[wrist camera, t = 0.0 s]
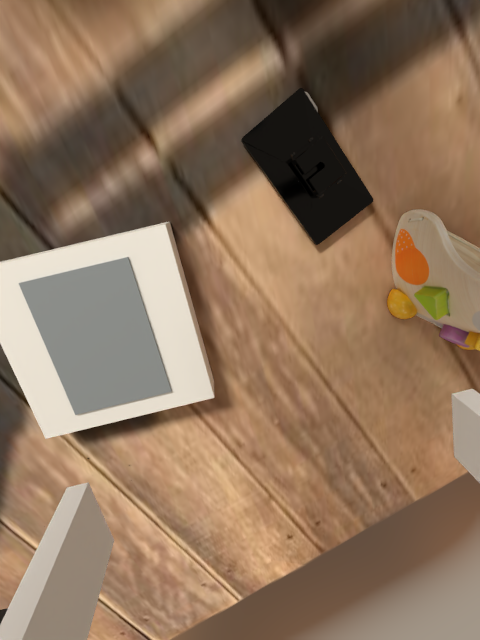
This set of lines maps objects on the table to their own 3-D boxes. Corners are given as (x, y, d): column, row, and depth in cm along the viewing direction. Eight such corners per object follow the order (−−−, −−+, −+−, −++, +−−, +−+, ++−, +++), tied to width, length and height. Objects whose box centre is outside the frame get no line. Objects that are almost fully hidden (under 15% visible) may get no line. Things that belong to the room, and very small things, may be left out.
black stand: (240, 140, 35) (242, 129, 30) (302, 86, 34) (315, 66, 29) (315, 245, 38) (328, 249, 33) (375, 198, 37) (396, 196, 32)
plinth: (-9, 263, 36) (-36, 272, 32) (169, 221, 37) (164, 224, 32) (60, 417, 42) (44, 440, 38) (213, 380, 42) (214, 399, 38)
